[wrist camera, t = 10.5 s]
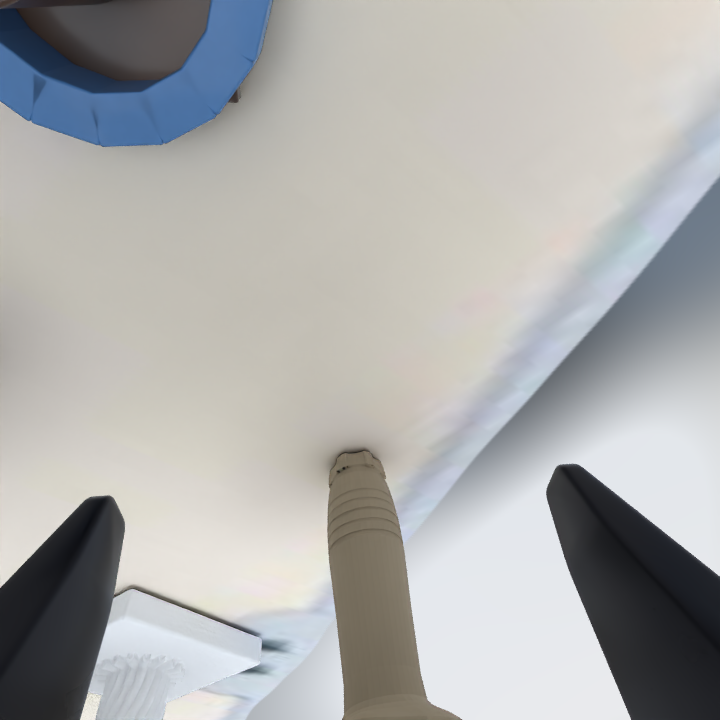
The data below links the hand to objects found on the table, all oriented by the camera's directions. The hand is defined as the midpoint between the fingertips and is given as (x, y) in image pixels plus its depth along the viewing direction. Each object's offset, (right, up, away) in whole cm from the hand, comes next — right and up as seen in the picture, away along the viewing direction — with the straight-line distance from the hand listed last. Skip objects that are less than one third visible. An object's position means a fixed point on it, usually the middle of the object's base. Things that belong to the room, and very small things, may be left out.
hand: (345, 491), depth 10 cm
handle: (0, -4, +20) cm, 20 cm away
